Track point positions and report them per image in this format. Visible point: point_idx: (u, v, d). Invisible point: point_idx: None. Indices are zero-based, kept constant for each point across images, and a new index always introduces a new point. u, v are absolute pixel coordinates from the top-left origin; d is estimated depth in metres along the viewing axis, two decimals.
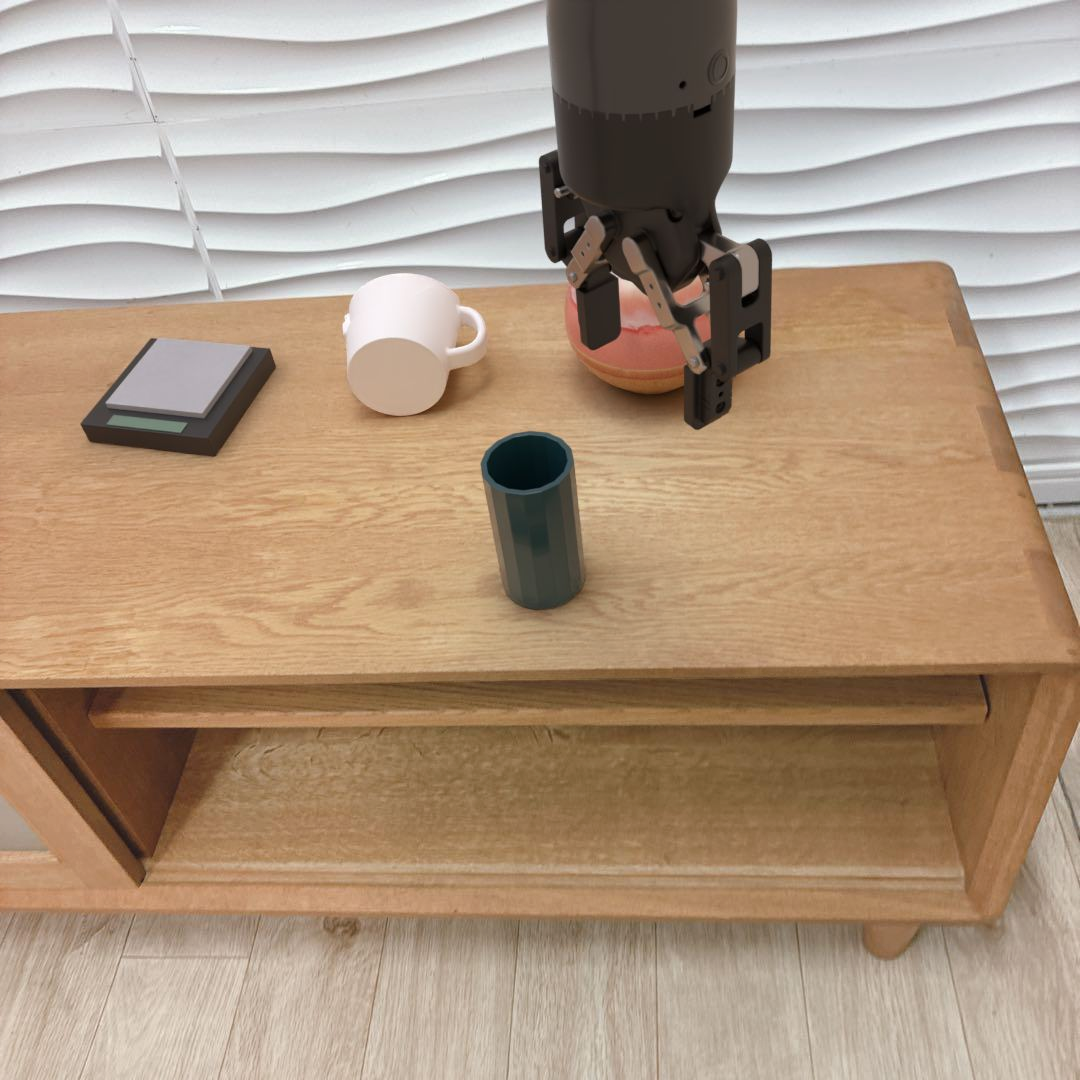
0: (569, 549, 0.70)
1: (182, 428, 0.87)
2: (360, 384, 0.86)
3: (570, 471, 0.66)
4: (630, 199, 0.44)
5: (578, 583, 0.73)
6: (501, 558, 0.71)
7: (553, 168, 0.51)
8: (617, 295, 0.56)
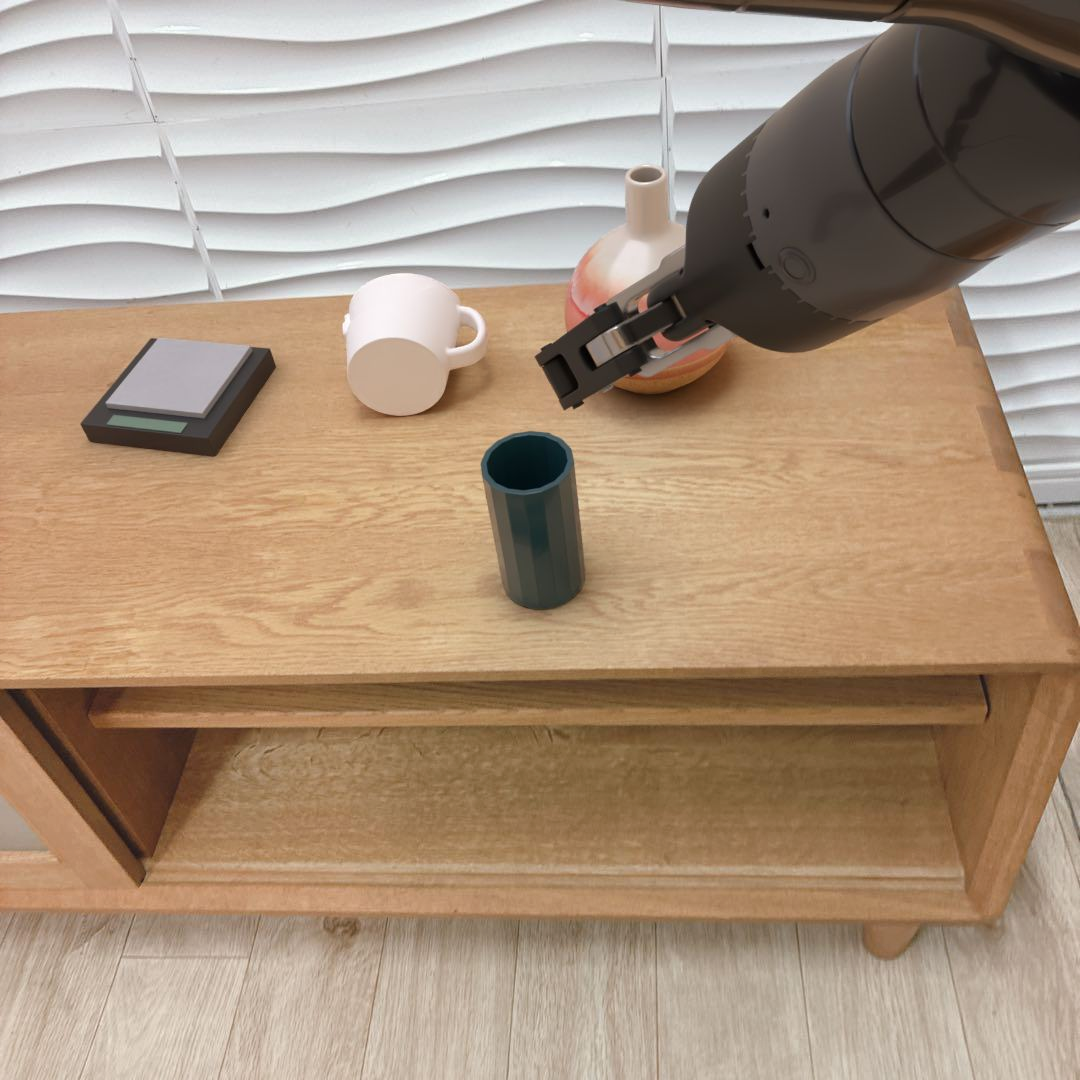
0: (569, 549, 0.70)
1: (182, 428, 0.87)
2: (360, 384, 0.86)
3: (570, 471, 0.66)
4: (693, 202, 0.37)
5: (578, 583, 0.73)
6: (501, 558, 0.71)
7: None
8: None
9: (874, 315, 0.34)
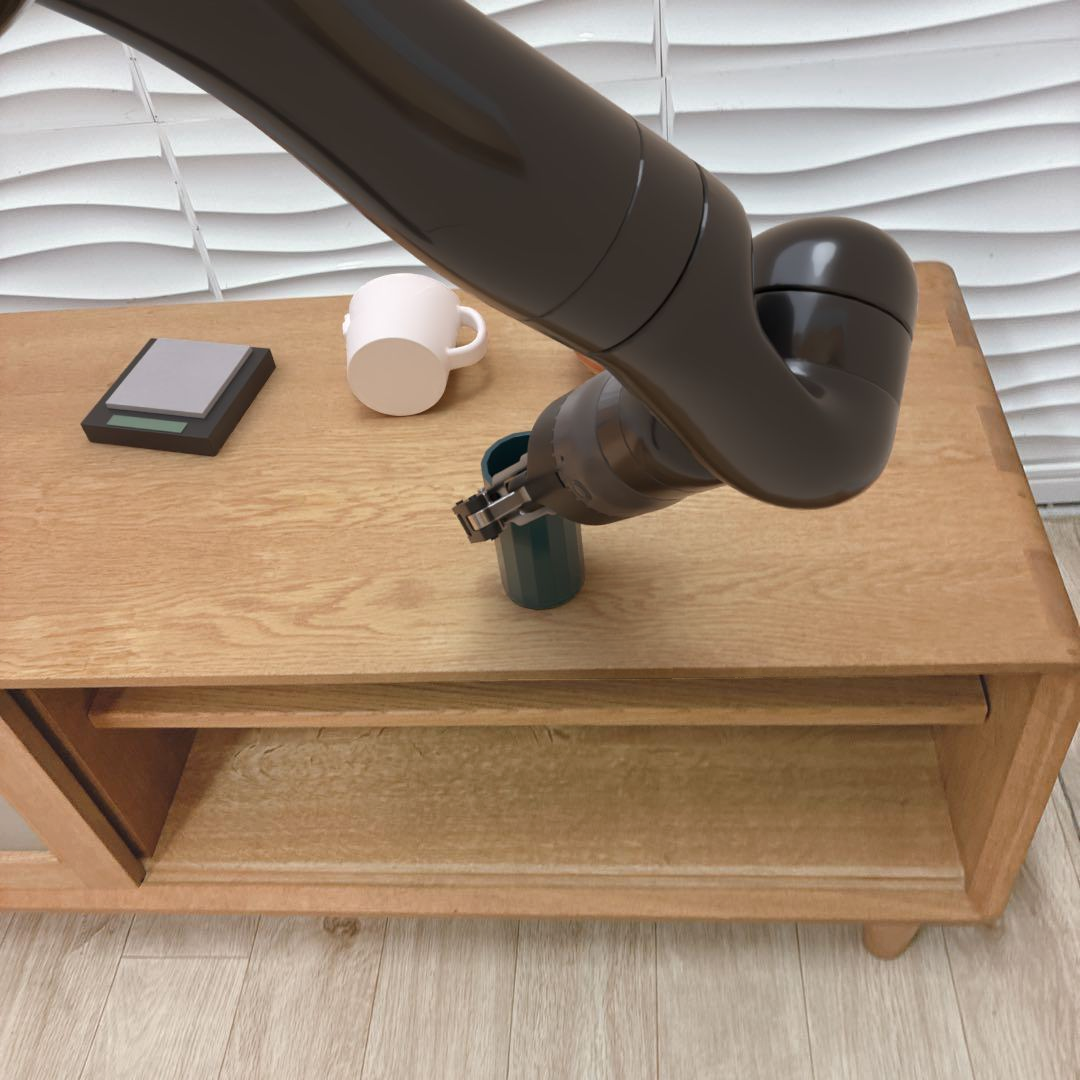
0: (569, 548, 0.70)
1: (182, 428, 0.87)
2: (360, 384, 0.86)
3: None
4: (532, 433, 0.58)
5: (578, 583, 0.73)
6: (501, 558, 0.71)
7: None
8: None
9: (633, 515, 0.55)
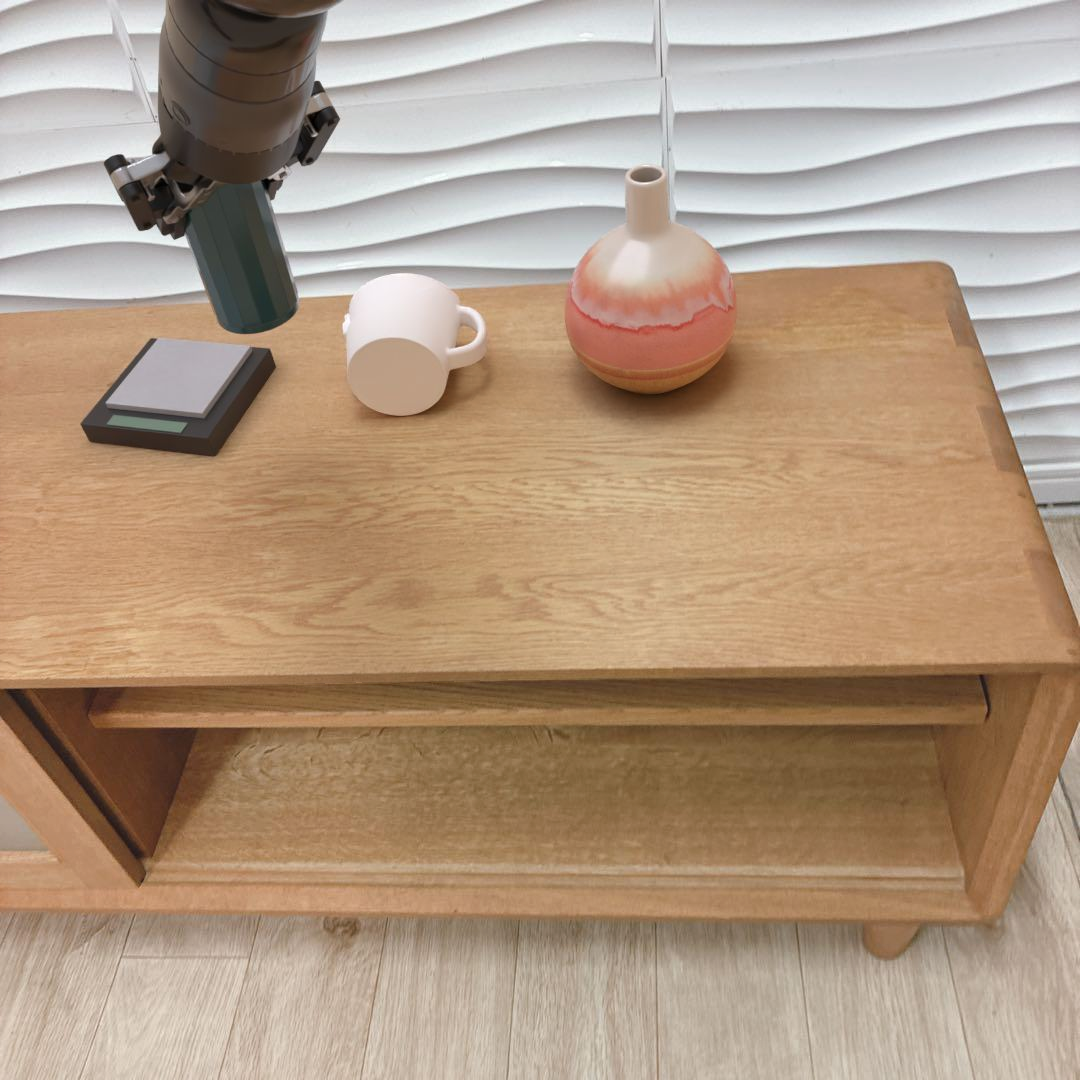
0: (264, 262, 0.70)
1: (182, 428, 0.87)
2: (360, 384, 0.86)
3: None
4: None
5: (286, 308, 0.73)
6: (201, 276, 0.71)
7: None
8: (267, 187, 0.70)
9: (241, 147, 0.55)
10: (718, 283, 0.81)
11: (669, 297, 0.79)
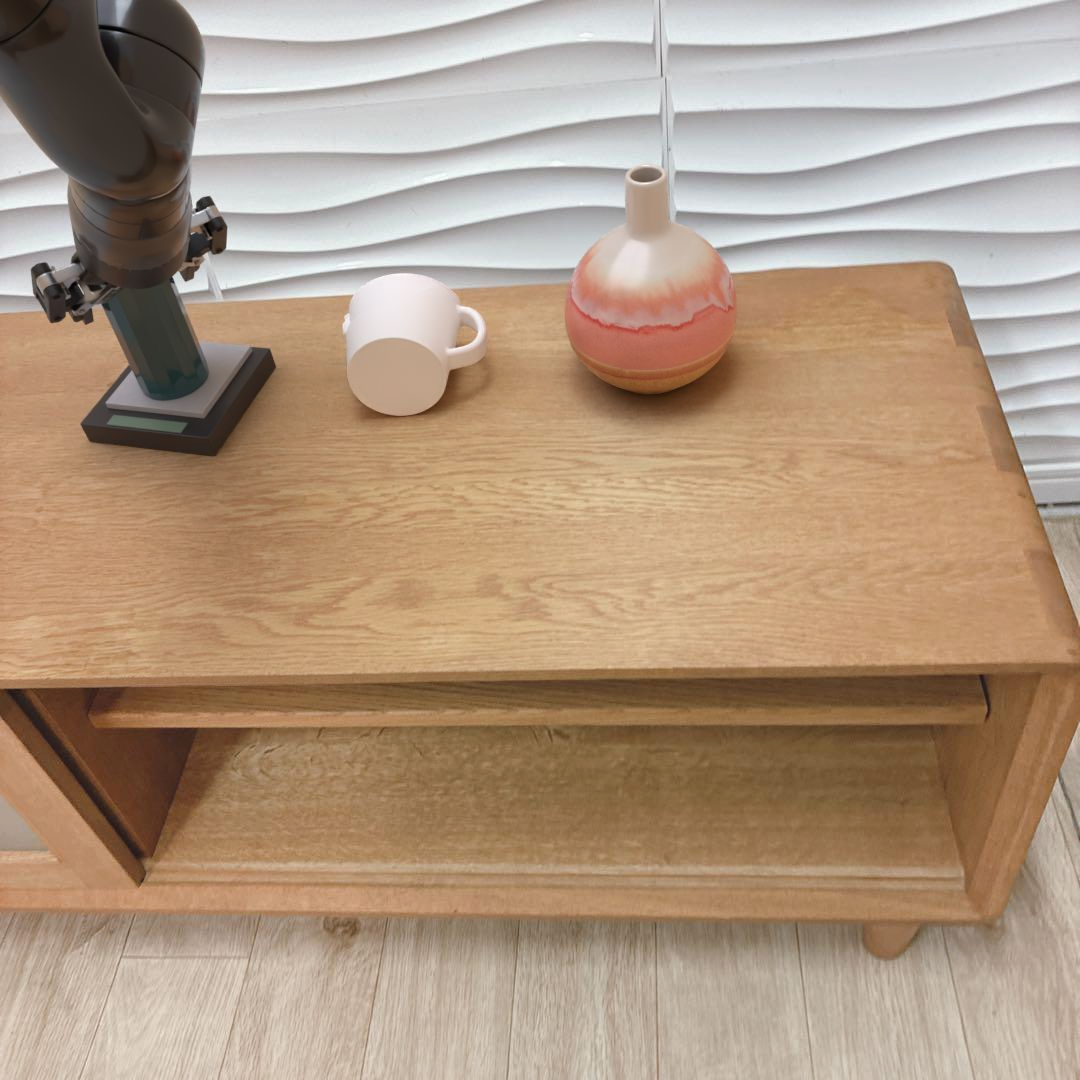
0: (175, 344, 0.86)
1: (182, 428, 0.87)
2: (360, 384, 0.86)
3: None
4: None
5: (196, 379, 0.89)
6: (125, 354, 0.88)
7: (197, 203, 0.79)
8: (186, 271, 0.85)
9: (135, 267, 0.70)
10: (718, 283, 0.81)
11: (669, 297, 0.79)
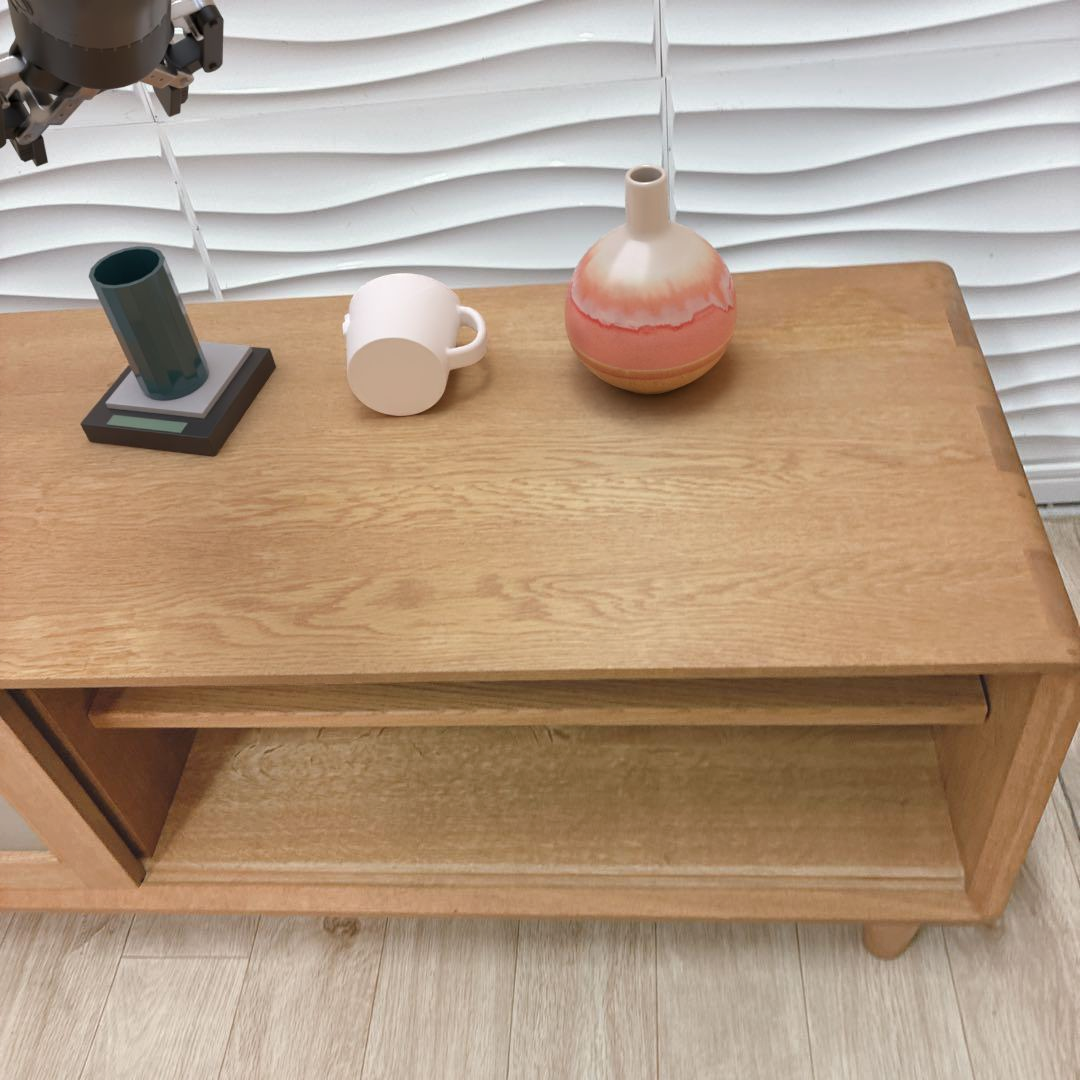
0: (175, 344, 0.86)
1: (182, 428, 0.87)
2: (360, 384, 0.86)
3: (157, 272, 0.82)
4: None
5: (196, 379, 0.89)
6: (125, 354, 0.88)
7: None
8: (170, 97, 0.65)
9: (93, 41, 0.50)
10: (718, 283, 0.81)
11: (669, 297, 0.79)
